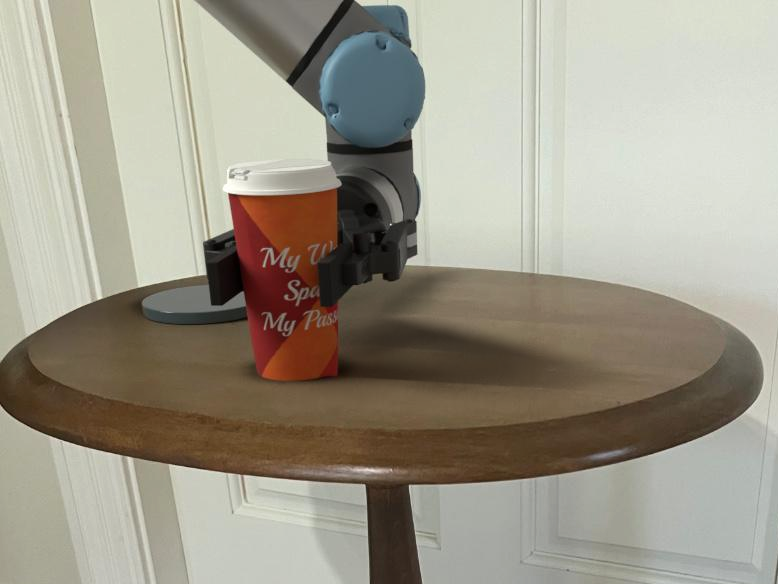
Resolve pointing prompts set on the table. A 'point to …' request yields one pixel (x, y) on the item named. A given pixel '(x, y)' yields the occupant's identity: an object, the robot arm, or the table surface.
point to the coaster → (192, 307)
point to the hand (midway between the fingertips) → (269, 284)
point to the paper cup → (286, 262)
